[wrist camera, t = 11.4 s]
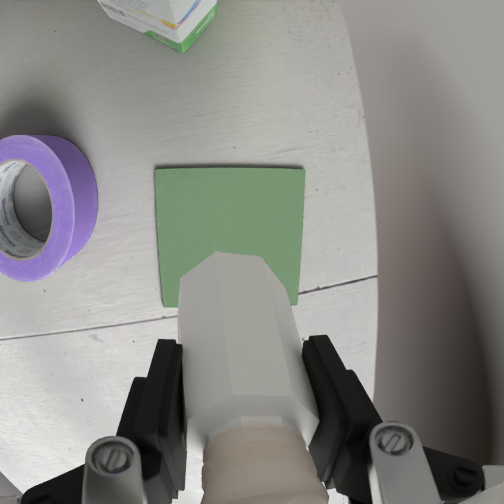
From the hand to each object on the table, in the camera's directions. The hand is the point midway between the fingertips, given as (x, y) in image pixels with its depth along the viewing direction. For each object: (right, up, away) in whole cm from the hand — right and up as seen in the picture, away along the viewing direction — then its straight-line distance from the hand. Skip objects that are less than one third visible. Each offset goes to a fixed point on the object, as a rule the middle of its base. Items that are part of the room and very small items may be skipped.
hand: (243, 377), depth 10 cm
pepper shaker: (-1, +2, +6) cm, 6 cm away
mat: (-2, +5, +16) cm, 17 cm away
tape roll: (-18, +9, +14) cm, 25 cm away
